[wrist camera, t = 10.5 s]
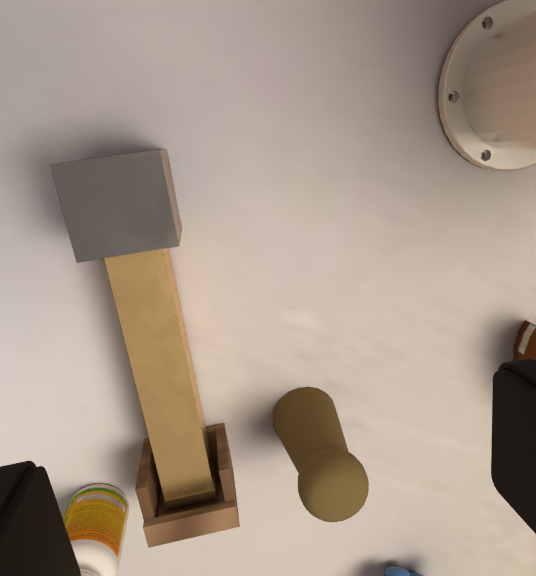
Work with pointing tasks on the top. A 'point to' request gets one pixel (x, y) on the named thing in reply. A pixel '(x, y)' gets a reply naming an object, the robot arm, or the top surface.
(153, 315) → the long gold plank
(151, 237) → the steel sleeve
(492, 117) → the robot arm
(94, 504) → the supplement bottle
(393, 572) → the grapes
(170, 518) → the walnut socket
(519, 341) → the food container
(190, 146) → the top surface
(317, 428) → the cork
